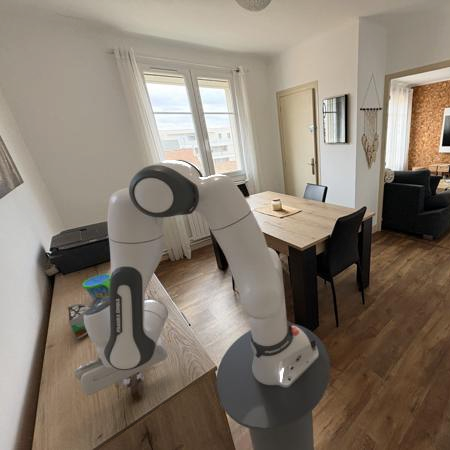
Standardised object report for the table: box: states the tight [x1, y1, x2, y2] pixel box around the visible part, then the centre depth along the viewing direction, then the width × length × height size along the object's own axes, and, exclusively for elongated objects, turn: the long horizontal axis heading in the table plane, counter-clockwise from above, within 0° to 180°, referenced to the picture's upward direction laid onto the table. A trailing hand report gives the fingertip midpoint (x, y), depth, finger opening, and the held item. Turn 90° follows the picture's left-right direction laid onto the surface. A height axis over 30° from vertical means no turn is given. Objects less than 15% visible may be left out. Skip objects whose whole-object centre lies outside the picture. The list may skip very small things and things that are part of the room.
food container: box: [66, 303, 90, 341], centre depth 95 cm, size 12×6×10 cm, turn 44°
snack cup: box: [82, 273, 111, 303], centre depth 114 cm, size 16×10×10 cm
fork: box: [128, 372, 142, 402], centre depth 74 cm, size 14×4×3 cm, turn 34°
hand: (135, 382), depth 72 cm, fingers closed on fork, 2 cm apart
